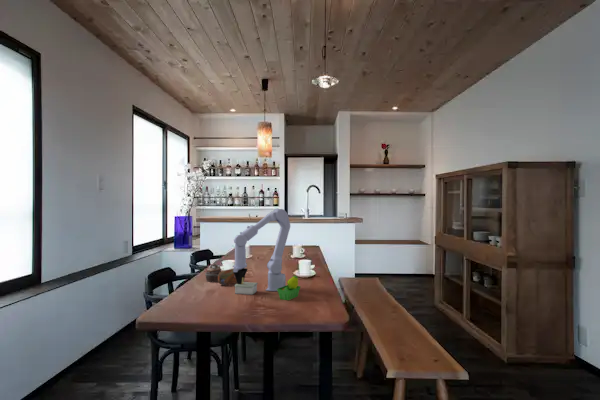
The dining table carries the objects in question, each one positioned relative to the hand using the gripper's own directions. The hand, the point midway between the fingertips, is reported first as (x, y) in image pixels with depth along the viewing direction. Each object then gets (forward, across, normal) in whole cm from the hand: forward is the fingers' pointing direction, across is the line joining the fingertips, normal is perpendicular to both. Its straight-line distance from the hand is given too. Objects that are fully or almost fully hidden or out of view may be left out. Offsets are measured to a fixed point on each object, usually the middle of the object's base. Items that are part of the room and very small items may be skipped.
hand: (240, 283), depth 189 cm
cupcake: (+5, -22, -26) cm, 34 cm away
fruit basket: (+5, +5, +28) cm, 29 cm away
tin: (+5, -17, -14) cm, 22 cm away
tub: (+5, 0, +3) cm, 6 cm away
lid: (+1, 0, +3) cm, 3 cm away
